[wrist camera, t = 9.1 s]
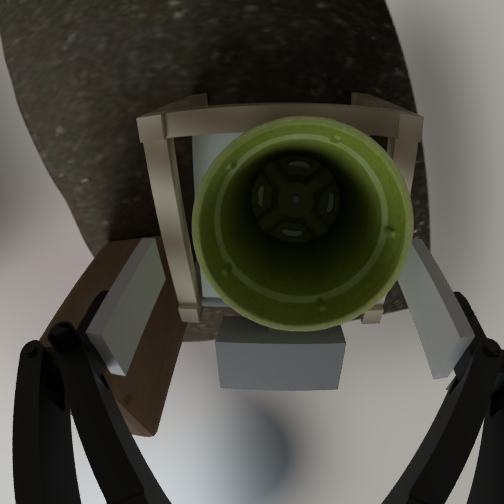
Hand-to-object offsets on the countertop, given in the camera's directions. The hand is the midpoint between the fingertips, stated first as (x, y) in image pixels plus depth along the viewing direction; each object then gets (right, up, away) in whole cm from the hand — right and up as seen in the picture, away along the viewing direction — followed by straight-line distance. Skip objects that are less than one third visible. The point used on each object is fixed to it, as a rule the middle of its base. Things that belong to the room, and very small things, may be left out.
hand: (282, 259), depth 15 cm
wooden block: (-14, -2, +22) cm, 26 cm away
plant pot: (+1, +4, +5) cm, 7 cm away
